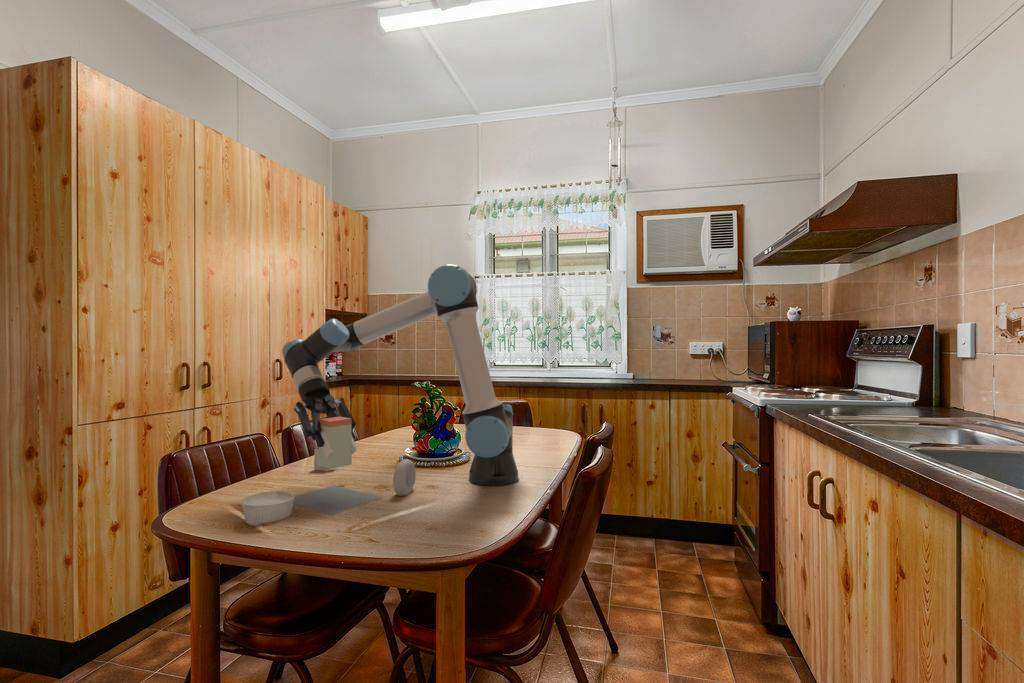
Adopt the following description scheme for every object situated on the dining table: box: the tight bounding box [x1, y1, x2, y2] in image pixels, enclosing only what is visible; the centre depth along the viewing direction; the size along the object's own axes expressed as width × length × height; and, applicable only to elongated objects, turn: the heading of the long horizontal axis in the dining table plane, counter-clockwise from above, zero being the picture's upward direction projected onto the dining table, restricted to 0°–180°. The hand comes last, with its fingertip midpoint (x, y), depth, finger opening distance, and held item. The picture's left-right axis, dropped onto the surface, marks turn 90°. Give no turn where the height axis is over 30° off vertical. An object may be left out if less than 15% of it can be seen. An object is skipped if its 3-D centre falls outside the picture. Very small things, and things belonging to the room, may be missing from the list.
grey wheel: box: [392, 458, 417, 497], centre depth 135 cm, size 10×4×10 cm, turn 168°
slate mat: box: [293, 485, 383, 516], centre depth 130 cm, size 20×16×1 cm
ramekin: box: [241, 490, 296, 528], centre depth 117 cm, size 11×11×5 cm
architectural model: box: [313, 448, 331, 472], centre depth 163 cm, size 3×7×7 cm, turn 80°
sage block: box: [318, 416, 353, 470], centre depth 129 cm, size 6×6×12 cm
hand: (342, 453), depth 127 cm, fingers closed on sage block, 6 cm apart
